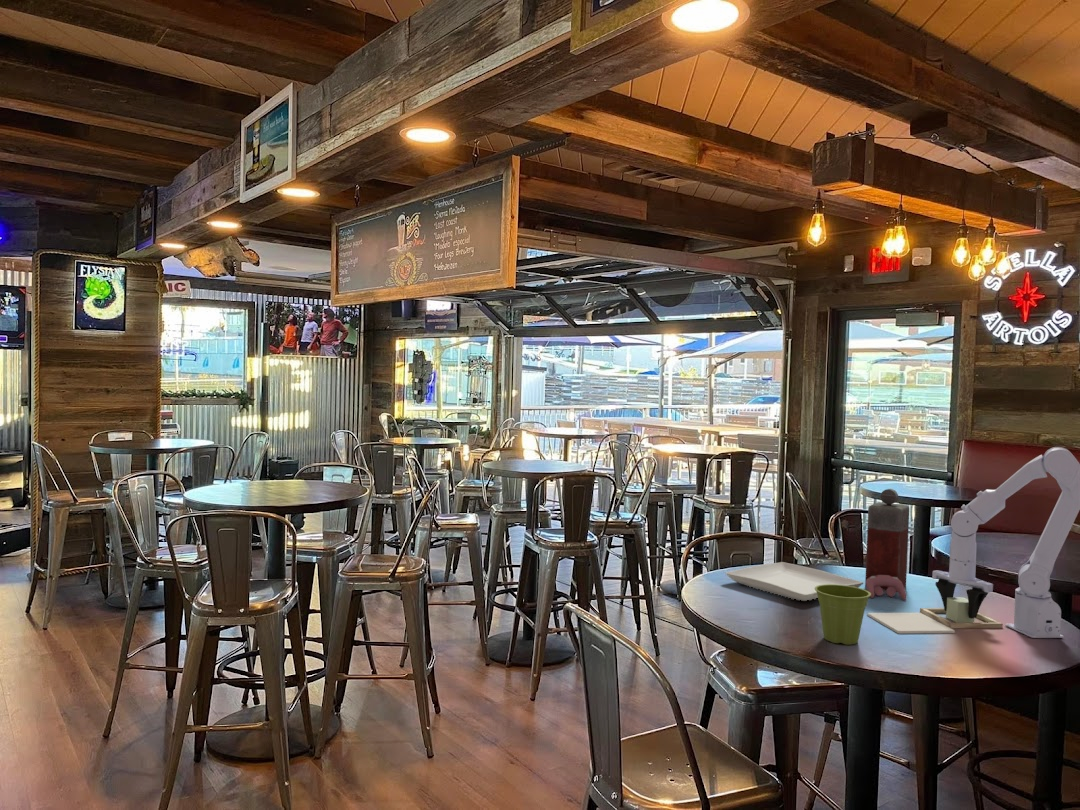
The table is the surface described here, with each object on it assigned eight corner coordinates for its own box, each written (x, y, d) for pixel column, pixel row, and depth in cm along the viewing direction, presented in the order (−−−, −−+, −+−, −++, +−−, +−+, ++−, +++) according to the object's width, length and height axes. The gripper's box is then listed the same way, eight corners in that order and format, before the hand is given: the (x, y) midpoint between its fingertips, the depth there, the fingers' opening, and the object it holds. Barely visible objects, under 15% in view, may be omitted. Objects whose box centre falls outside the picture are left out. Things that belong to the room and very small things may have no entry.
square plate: (805, 608, 204) (806, 593, 204) (722, 584, 226) (723, 571, 225) (864, 593, 220) (865, 579, 220) (781, 572, 242) (782, 559, 242)
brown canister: (908, 584, 229) (912, 488, 228) (898, 592, 220) (902, 492, 219) (876, 579, 235) (879, 485, 234) (864, 586, 226) (868, 488, 225)
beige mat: (954, 633, 185) (954, 630, 185) (898, 633, 184) (898, 630, 184) (920, 614, 199) (920, 612, 199) (867, 615, 198) (867, 612, 198)
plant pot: (876, 640, 179) (878, 590, 178) (857, 653, 170) (859, 601, 169) (825, 628, 186) (826, 580, 186) (804, 639, 178) (805, 590, 177)
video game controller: (902, 603, 216) (899, 577, 219) (908, 599, 211) (905, 573, 214) (865, 601, 217) (862, 575, 219) (870, 597, 212) (867, 571, 215)
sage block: (974, 622, 194) (975, 602, 194) (957, 622, 194) (958, 602, 193) (962, 617, 198) (963, 597, 198) (946, 617, 198) (947, 597, 198)
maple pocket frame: (1002, 627, 190) (1002, 623, 190) (951, 628, 189) (951, 624, 189) (967, 611, 203) (968, 607, 203) (920, 611, 202) (920, 608, 202)
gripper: (1001, 564, 191) (998, 620, 192) (945, 552, 204) (943, 604, 204) (983, 567, 188) (981, 623, 188) (928, 554, 200) (925, 607, 201)
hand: (960, 614), depth 196 cm, fingers closed on sage block, 6 cm apart
